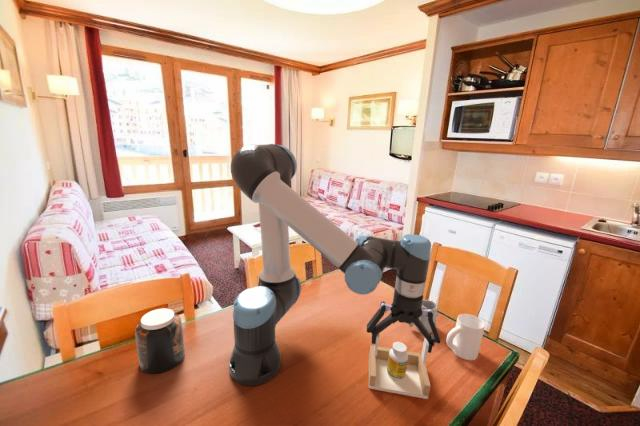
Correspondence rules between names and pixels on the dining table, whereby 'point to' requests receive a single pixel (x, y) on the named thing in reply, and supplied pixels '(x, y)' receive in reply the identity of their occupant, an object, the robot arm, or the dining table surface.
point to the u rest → (409, 385)
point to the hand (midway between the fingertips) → (399, 356)
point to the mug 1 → (422, 318)
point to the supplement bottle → (397, 361)
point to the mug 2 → (466, 336)
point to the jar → (159, 341)
